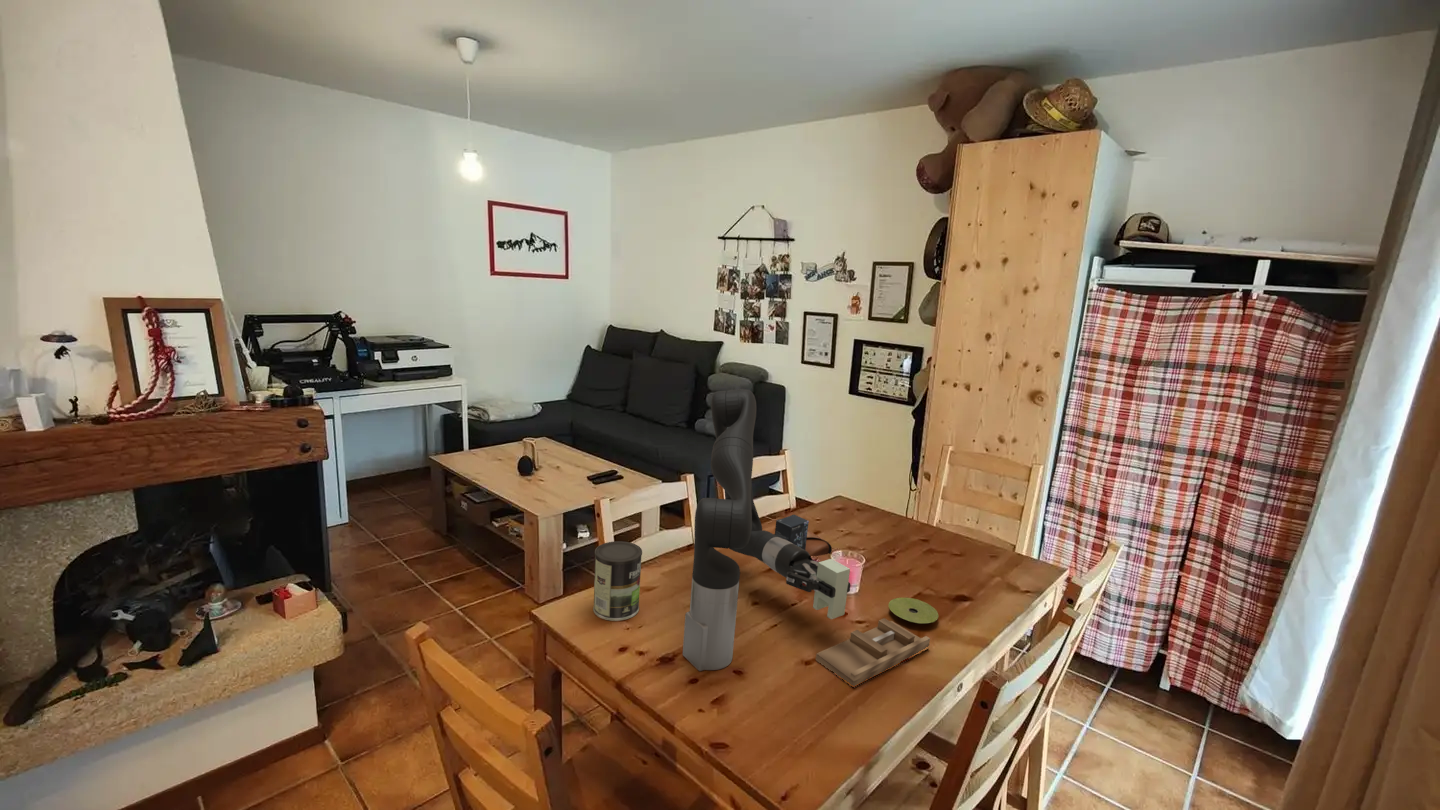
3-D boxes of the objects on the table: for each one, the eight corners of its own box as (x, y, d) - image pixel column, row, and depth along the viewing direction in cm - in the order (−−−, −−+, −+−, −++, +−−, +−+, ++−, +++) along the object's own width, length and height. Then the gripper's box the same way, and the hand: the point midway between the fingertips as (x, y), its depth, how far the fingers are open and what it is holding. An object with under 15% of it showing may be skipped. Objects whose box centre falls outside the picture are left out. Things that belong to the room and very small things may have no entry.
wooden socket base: (853, 688, 116) (855, 671, 116) (815, 660, 124) (817, 644, 123) (928, 649, 131) (930, 635, 130) (890, 626, 138) (892, 612, 138)
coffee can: (645, 601, 141) (648, 544, 138) (630, 625, 131) (632, 564, 129) (603, 593, 143) (605, 537, 140) (585, 616, 133) (587, 557, 130)
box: (787, 563, 166) (791, 526, 163) (771, 555, 170) (775, 519, 167) (805, 555, 171) (809, 520, 169) (790, 548, 175) (793, 513, 173)
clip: (831, 619, 128) (837, 573, 126) (812, 607, 132) (818, 562, 130) (844, 614, 130) (850, 568, 128) (825, 603, 134) (831, 558, 132)
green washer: (877, 607, 146) (878, 600, 146) (916, 601, 150) (917, 594, 150) (907, 633, 136) (908, 625, 136) (947, 626, 140) (949, 619, 140)
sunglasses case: (770, 533, 184) (781, 513, 185) (785, 541, 188) (796, 521, 188) (809, 558, 169) (820, 537, 170) (824, 566, 173) (835, 545, 174)
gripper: (764, 549, 136) (819, 582, 123) (809, 537, 144) (866, 567, 131) (761, 580, 137) (815, 616, 124) (806, 567, 146) (862, 599, 133)
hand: (841, 590), depth 128 cm, fingers closed on clip, 4 cm apart
